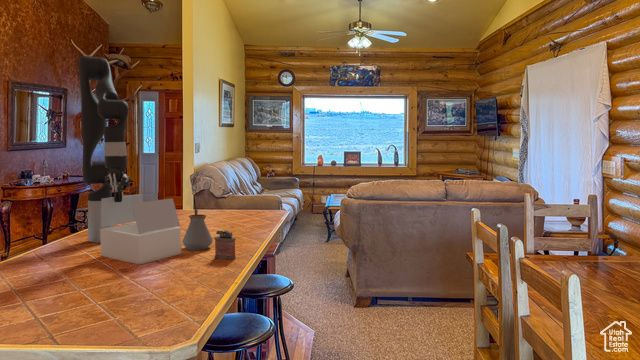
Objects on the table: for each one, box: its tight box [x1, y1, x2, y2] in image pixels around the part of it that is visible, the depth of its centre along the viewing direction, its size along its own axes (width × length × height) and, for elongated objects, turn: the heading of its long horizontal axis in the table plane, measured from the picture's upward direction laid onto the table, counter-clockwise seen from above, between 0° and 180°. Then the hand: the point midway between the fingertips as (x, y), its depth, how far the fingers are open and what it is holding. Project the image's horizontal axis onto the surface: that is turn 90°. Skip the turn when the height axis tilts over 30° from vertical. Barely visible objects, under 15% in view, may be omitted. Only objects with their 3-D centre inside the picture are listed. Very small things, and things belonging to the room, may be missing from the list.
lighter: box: [214, 230, 237, 260], centre depth 170 cm, size 8×3×10 cm, turn 71°
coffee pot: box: [182, 204, 214, 251], centre depth 191 cm, size 21×12×15 cm, turn 17°
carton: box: [100, 222, 182, 265], centre depth 175 cm, size 22×18×10 cm
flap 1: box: [101, 193, 144, 227], centre depth 179 cm, size 10×17×1 cm
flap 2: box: [132, 197, 180, 233], centre depth 169 cm, size 10×17×1 cm
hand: (118, 202), depth 175 cm, fingers closed
